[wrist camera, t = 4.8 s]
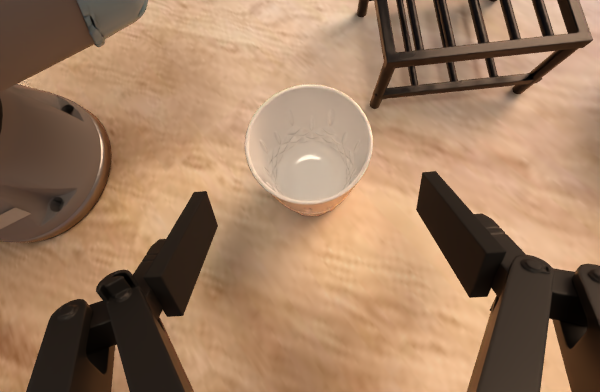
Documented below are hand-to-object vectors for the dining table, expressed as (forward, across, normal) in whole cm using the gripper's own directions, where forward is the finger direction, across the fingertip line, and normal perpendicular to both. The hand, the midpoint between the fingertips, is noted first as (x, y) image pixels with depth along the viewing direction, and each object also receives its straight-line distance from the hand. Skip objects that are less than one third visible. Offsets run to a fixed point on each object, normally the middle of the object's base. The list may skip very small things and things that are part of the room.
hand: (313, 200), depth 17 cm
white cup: (+9, 0, -4) cm, 10 cm away
